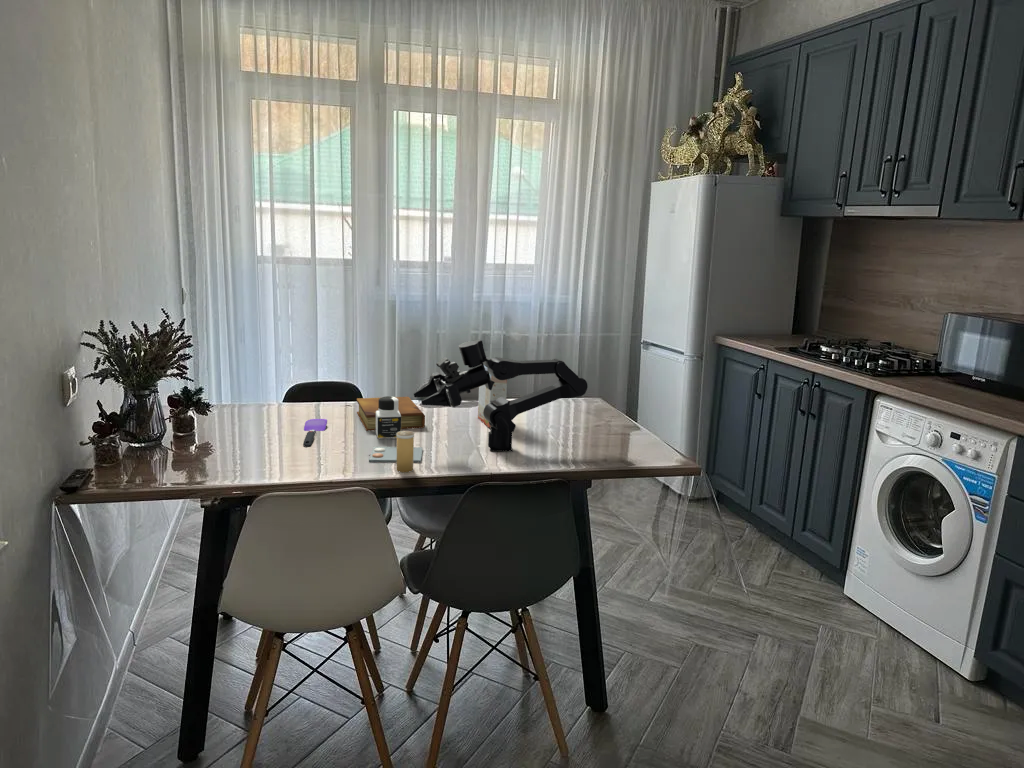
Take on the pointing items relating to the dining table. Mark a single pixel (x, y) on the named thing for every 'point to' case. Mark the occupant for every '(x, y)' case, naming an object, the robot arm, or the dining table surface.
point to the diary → (406, 407)
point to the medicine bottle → (388, 418)
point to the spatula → (313, 429)
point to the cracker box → (490, 395)
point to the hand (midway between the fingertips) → (417, 399)
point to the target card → (392, 454)
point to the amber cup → (405, 451)
